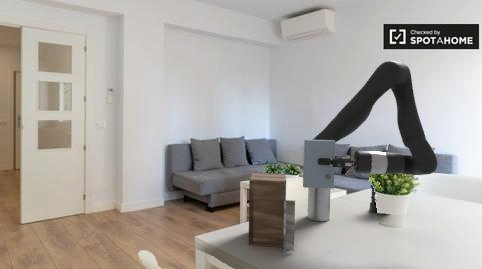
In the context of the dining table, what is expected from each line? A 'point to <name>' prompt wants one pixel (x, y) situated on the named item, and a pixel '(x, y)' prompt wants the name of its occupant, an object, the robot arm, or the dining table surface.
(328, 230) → the dining table surface
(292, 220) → the cabinet
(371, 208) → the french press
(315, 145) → the door
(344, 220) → the dining table surface
